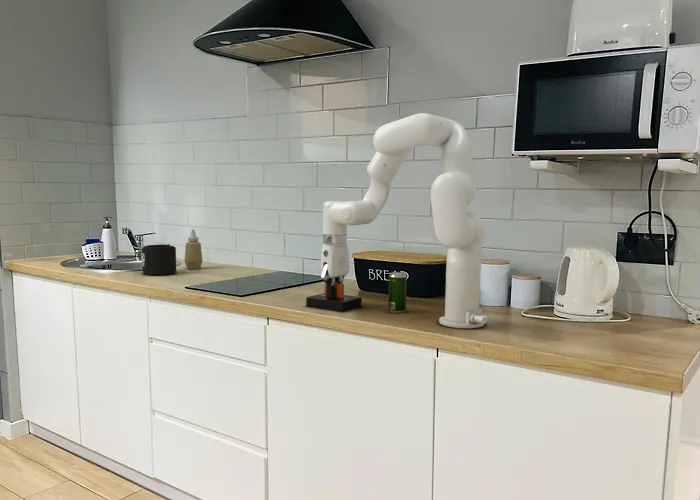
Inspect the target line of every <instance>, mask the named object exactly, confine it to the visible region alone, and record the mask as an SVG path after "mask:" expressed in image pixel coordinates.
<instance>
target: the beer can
mask: <svg viewBox="0 0 700 500" xmlns="http://www.w3.org/2000/svg"><path fill="white" fill-rule="evenodd" d="M407 278H408V277H407V273H406V272H403V271H391V272H389V275H388V312H390V313H392V314H393V313H394V314H403V313H405V312H406V311H407V280H408V279H407Z"/></svg>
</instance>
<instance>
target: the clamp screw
mask: <svg viewBox="0 0 700 500" xmlns="http://www.w3.org/2000/svg"><path fill="white" fill-rule="evenodd" d="M334 286H336V297H335V298H344V295H345V284H344V283H343V284H341V283H334ZM323 293H324V296H326V285H325V284H324V291H323Z"/></svg>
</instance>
